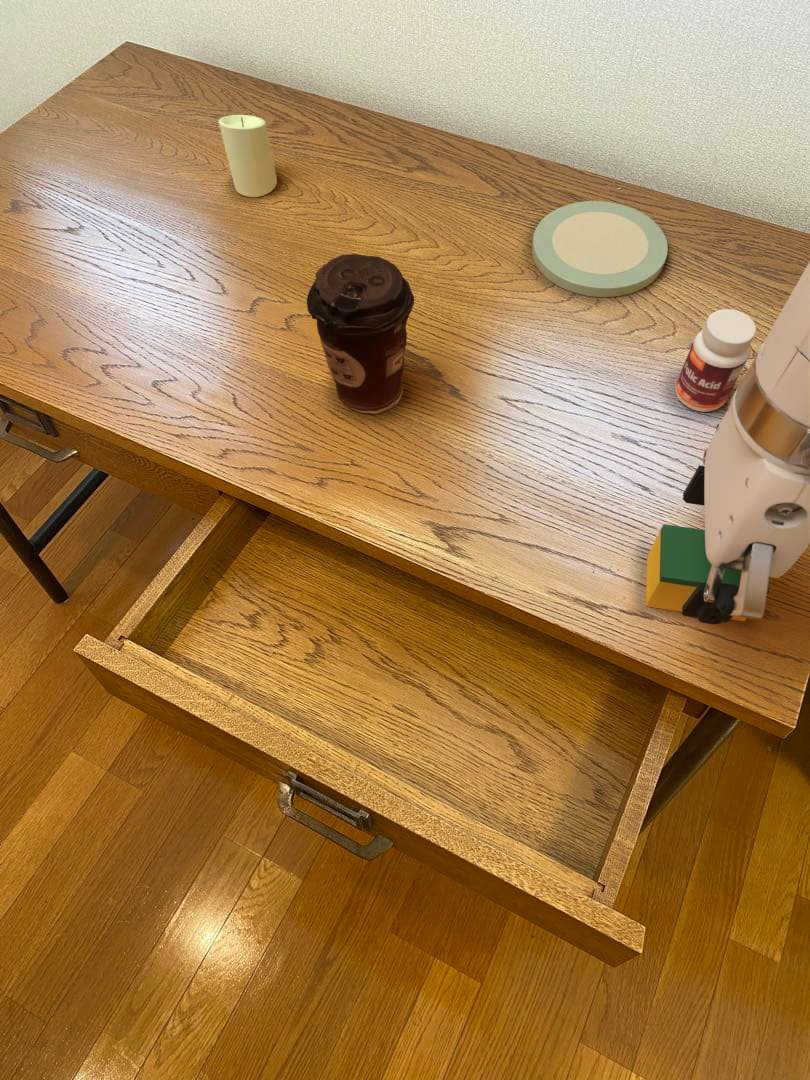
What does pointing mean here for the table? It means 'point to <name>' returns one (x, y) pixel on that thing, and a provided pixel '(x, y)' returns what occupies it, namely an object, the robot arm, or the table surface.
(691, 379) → the pill bottle
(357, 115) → the table surface
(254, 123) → the candle
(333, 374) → the coffee cup
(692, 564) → the sponge
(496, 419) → the table surface
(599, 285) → the plate
